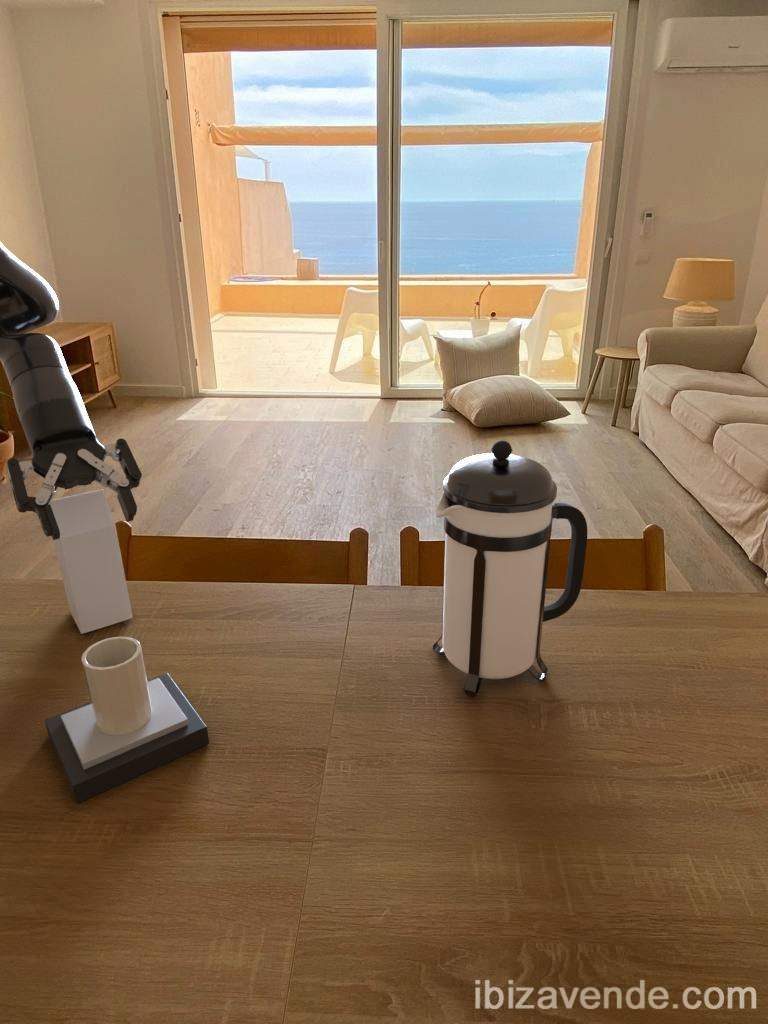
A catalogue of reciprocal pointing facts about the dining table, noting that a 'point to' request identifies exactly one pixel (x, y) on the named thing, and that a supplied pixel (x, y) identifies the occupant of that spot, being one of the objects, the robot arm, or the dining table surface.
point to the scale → (125, 741)
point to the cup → (117, 685)
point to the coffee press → (501, 564)
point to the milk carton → (91, 561)
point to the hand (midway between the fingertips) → (95, 527)
